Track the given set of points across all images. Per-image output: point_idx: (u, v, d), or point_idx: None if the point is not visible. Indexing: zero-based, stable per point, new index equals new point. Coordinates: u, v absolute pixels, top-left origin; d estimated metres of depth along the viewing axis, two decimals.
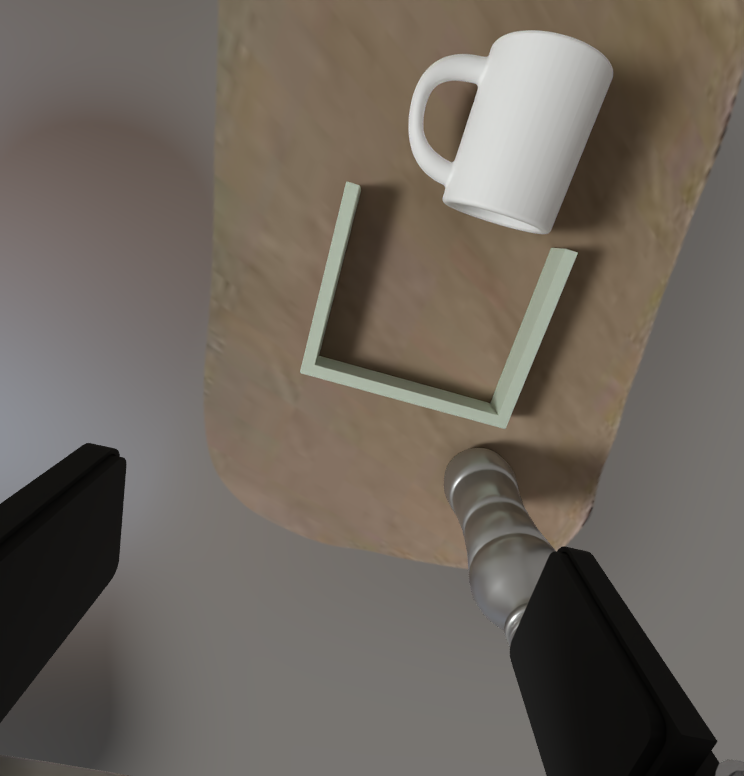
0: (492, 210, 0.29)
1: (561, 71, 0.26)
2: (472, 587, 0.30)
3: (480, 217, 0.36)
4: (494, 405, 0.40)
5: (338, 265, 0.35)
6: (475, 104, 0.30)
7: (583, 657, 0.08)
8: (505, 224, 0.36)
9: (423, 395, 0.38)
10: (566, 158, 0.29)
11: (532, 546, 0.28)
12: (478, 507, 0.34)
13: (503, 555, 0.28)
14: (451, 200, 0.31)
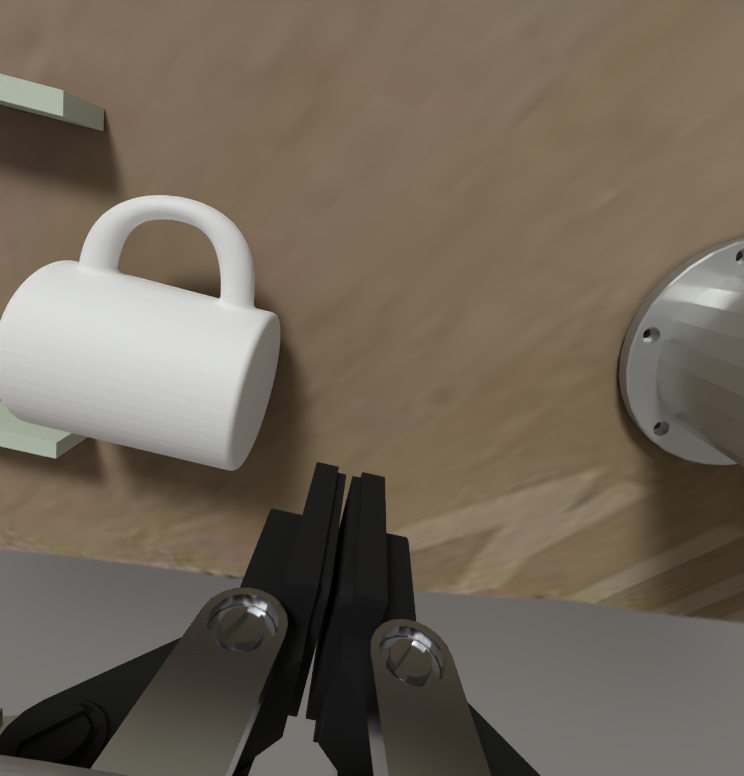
0: None
1: (190, 410, 0.19)
2: None
3: None
4: None
5: None
6: (185, 296, 0.21)
7: (339, 556, 0.09)
8: None
9: None
10: (102, 432, 0.20)
11: None
12: None
13: None
14: (36, 271, 0.19)
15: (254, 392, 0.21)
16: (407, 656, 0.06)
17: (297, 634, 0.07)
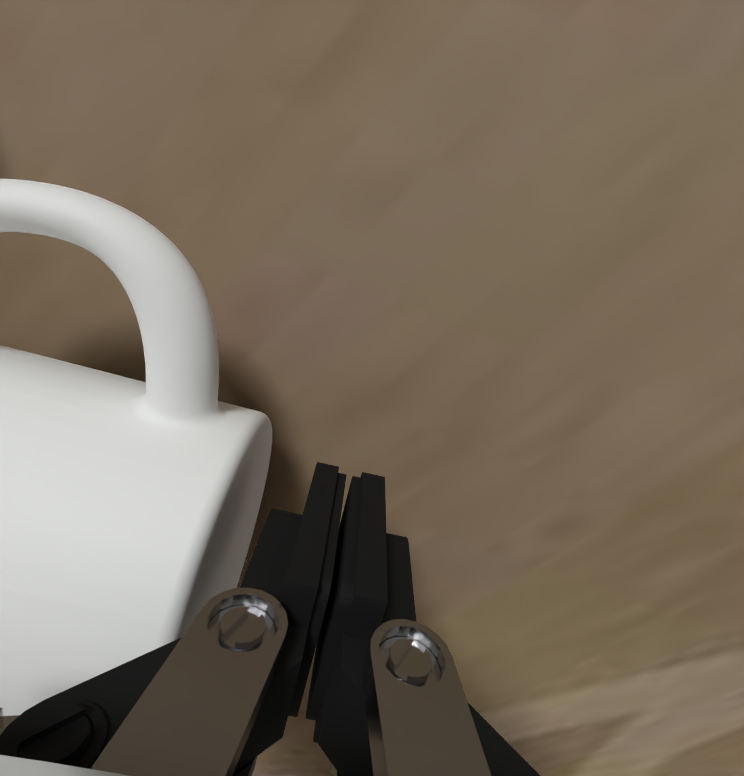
0: None
1: (50, 694, 0.08)
2: None
3: None
4: None
5: None
6: (68, 397, 0.10)
7: (339, 556, 0.09)
8: None
9: None
10: None
11: None
12: None
13: None
14: None
15: (217, 583, 0.11)
16: (407, 656, 0.06)
17: (297, 634, 0.07)
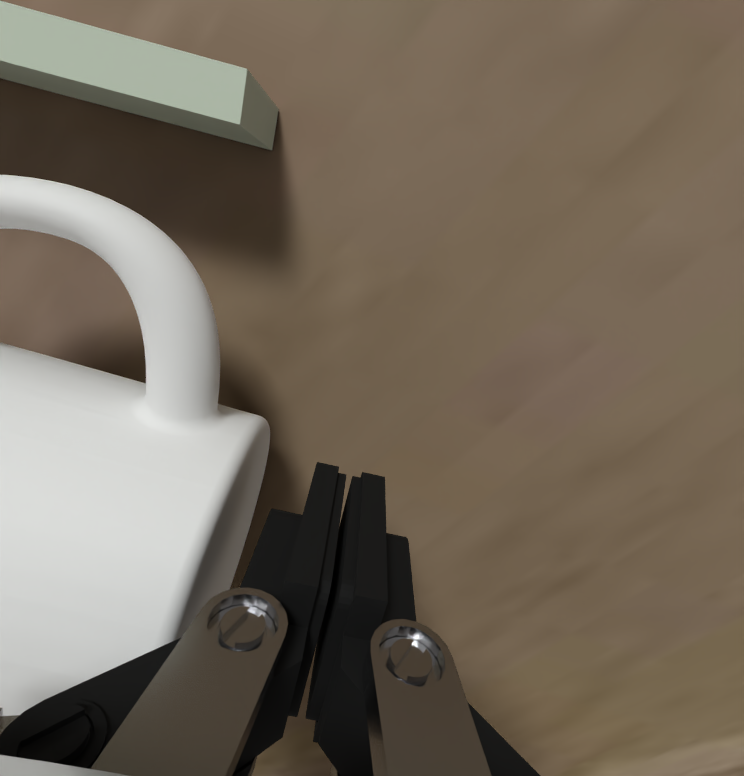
0: None
1: None
2: None
3: None
4: None
5: None
6: (66, 398, 0.09)
7: (339, 557, 0.09)
8: None
9: None
10: None
11: None
12: None
13: None
14: None
15: (212, 588, 0.11)
16: (407, 656, 0.06)
17: (297, 634, 0.07)
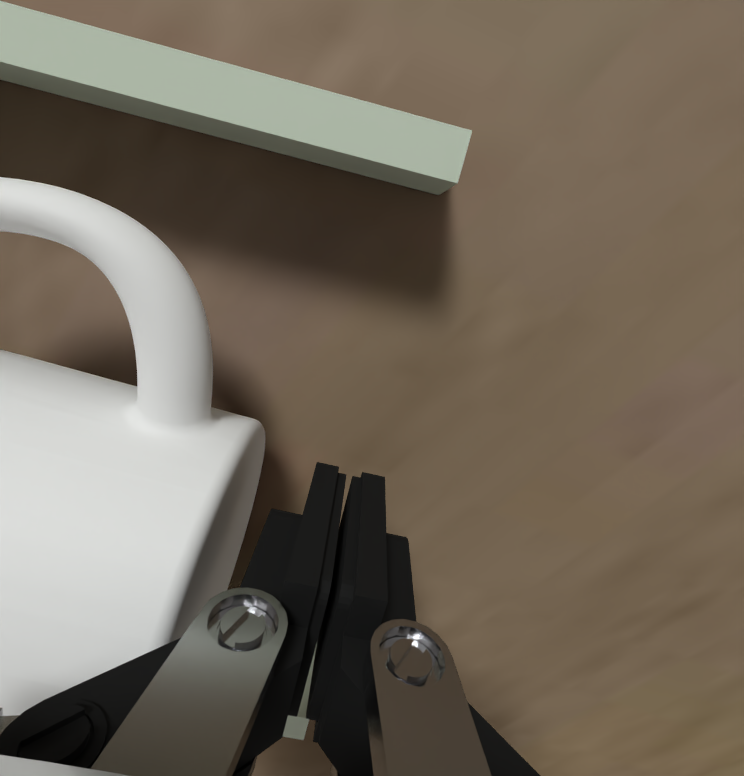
0: None
1: None
2: None
3: None
4: None
5: (177, 104, 0.09)
6: (56, 403, 0.09)
7: (339, 557, 0.09)
8: None
9: None
10: None
11: None
12: None
13: None
14: None
15: (206, 594, 0.10)
16: (407, 656, 0.06)
17: (297, 634, 0.07)
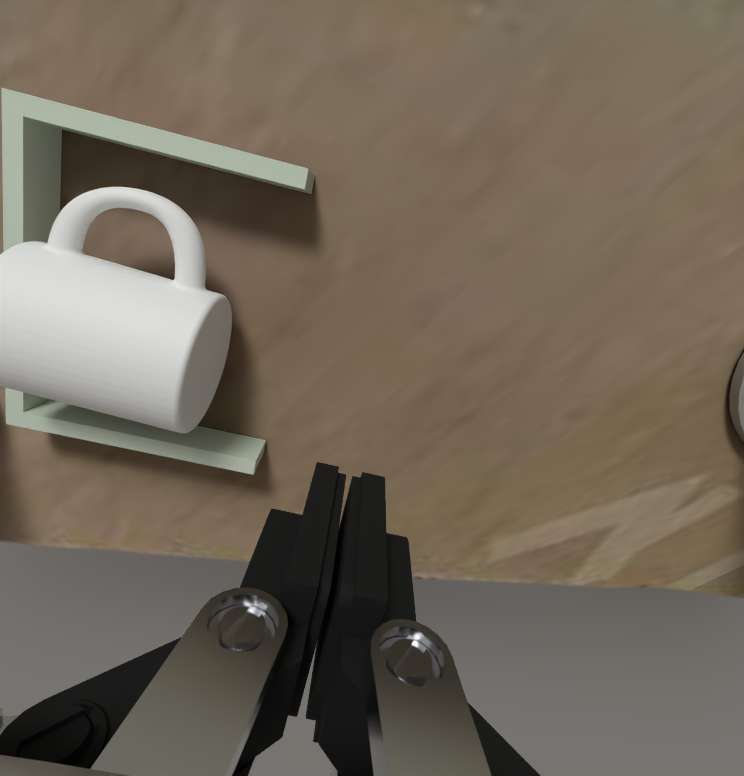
0: None
1: (143, 375, 0.22)
2: None
3: None
4: (47, 402, 0.29)
5: (190, 158, 0.23)
6: (142, 277, 0.23)
7: (339, 556, 0.09)
8: None
9: None
10: (64, 394, 0.23)
11: None
12: None
13: None
14: (7, 249, 0.22)
15: (203, 364, 0.24)
16: (407, 656, 0.06)
17: (297, 634, 0.07)
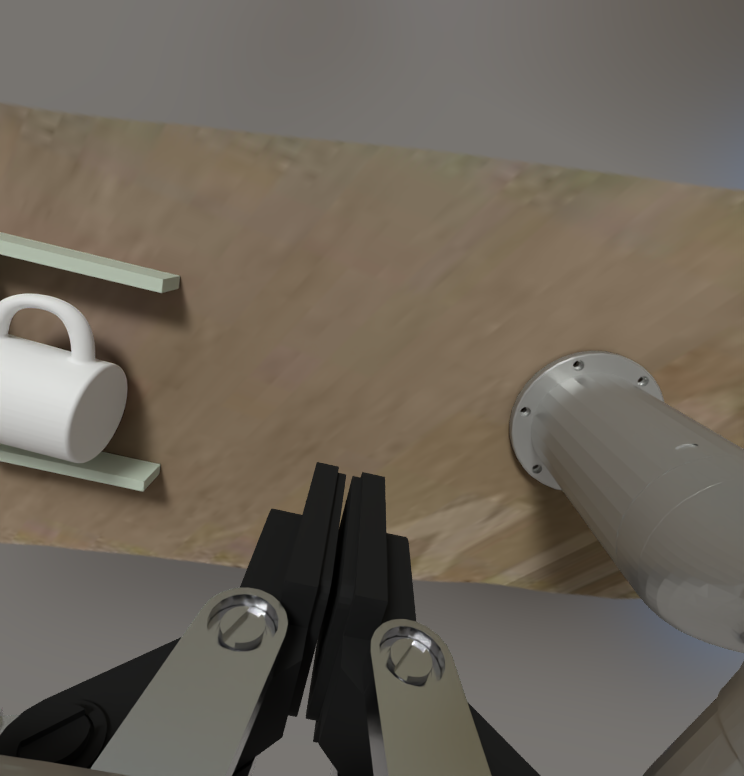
0: None
1: (41, 426, 0.31)
2: None
3: None
4: None
5: (80, 272, 0.33)
6: (48, 354, 0.33)
7: (339, 557, 0.09)
8: None
9: None
10: None
11: None
12: None
13: None
14: None
15: (93, 414, 0.34)
16: (407, 656, 0.06)
17: (297, 634, 0.07)
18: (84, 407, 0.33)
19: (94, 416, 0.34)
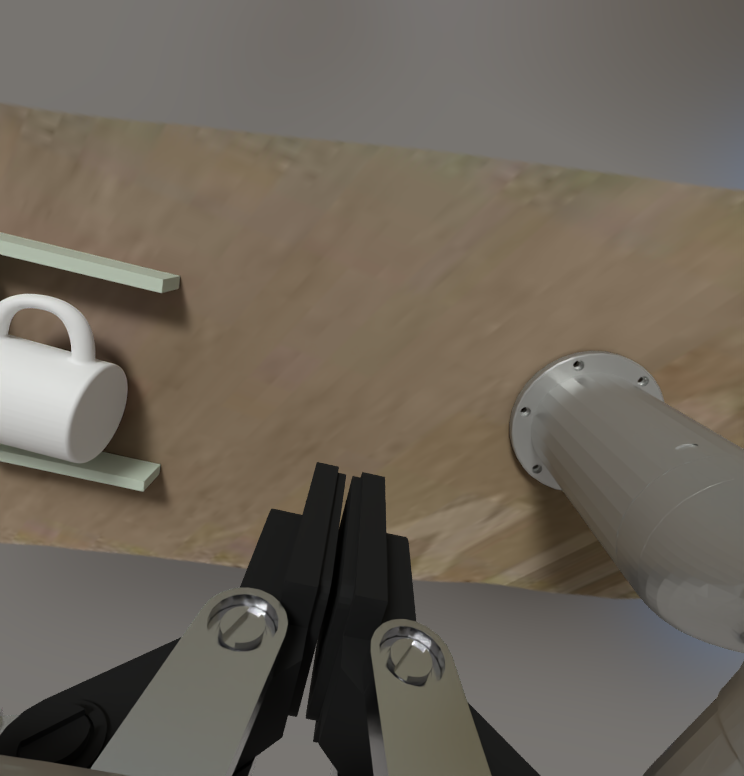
0: None
1: (41, 426, 0.31)
2: None
3: None
4: None
5: (80, 272, 0.33)
6: (48, 355, 0.33)
7: (339, 556, 0.09)
8: None
9: None
10: None
11: None
12: None
13: None
14: None
15: (93, 414, 0.34)
16: (407, 656, 0.06)
17: (297, 634, 0.07)
18: (84, 407, 0.33)
19: (94, 416, 0.34)
